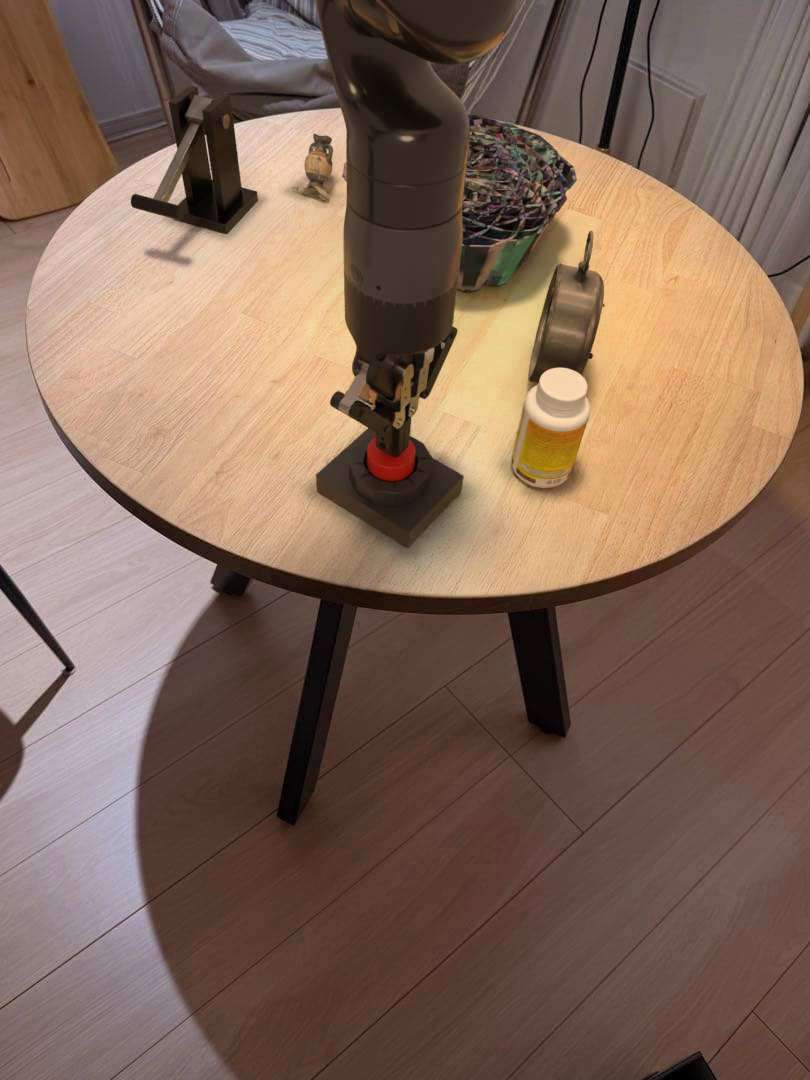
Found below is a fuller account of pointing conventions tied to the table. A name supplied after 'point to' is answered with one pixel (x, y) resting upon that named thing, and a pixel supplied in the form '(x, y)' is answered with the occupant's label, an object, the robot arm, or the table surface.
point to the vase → (318, 165)
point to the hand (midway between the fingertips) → (392, 447)
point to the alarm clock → (568, 318)
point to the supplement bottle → (551, 428)
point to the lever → (176, 165)
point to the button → (390, 463)
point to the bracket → (223, 195)
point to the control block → (390, 490)
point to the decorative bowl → (506, 199)
